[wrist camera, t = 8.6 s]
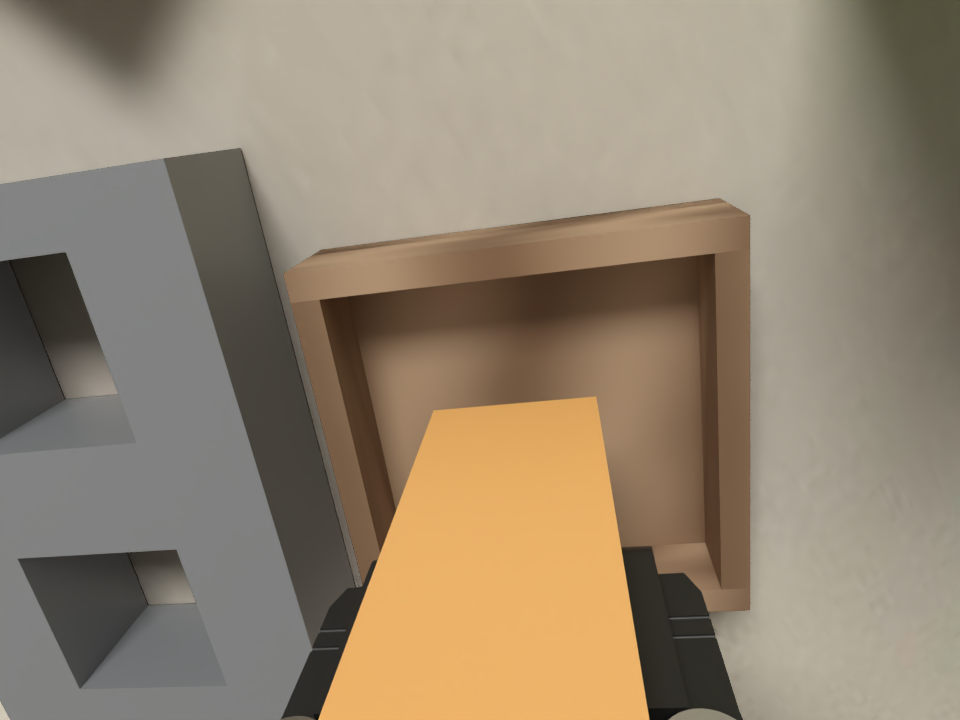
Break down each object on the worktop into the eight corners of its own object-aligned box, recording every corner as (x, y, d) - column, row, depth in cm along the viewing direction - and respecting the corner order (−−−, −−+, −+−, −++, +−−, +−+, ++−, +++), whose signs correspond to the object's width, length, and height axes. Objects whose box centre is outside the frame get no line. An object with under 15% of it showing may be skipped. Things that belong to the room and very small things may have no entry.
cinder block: (240, 148, 19) (163, 158, 15) (367, 633, 25) (334, 725, 21) (-111, 203, 21) (-257, 224, 17) (89, 643, 27) (15, 729, 23)
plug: (596, 396, 16) (652, 734, 7) (607, 535, 17) (665, 950, 9) (433, 410, 16) (312, 738, 8) (457, 543, 18) (376, 941, 9)
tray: (719, 198, 18) (750, 215, 15) (725, 546, 22) (750, 610, 19) (321, 249, 20) (283, 273, 17) (394, 563, 24) (372, 624, 21)
